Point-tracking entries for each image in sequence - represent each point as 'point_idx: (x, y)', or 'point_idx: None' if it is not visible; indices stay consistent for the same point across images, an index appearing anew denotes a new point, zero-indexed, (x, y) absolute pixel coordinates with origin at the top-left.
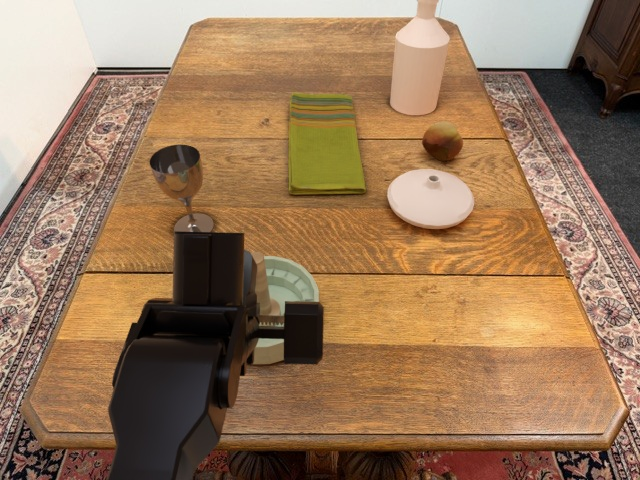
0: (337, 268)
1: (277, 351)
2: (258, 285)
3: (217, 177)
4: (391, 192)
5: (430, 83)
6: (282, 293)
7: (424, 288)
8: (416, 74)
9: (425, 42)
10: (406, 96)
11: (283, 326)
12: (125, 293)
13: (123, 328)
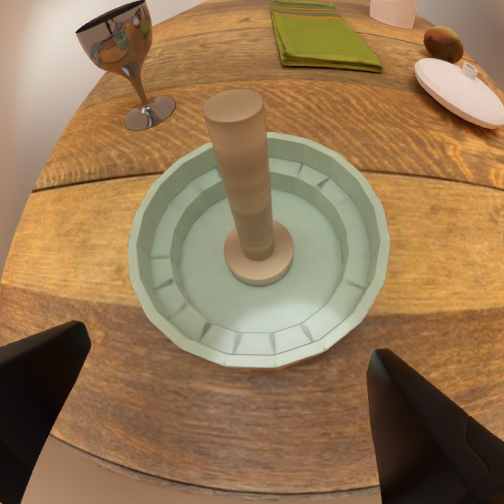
0: (379, 163)
1: (297, 362)
2: (245, 198)
3: (187, 60)
4: (423, 72)
5: (411, 3)
6: (291, 206)
7: (495, 208)
8: None
9: None
10: (389, 9)
11: (385, 441)
12: (56, 216)
13: (47, 272)
